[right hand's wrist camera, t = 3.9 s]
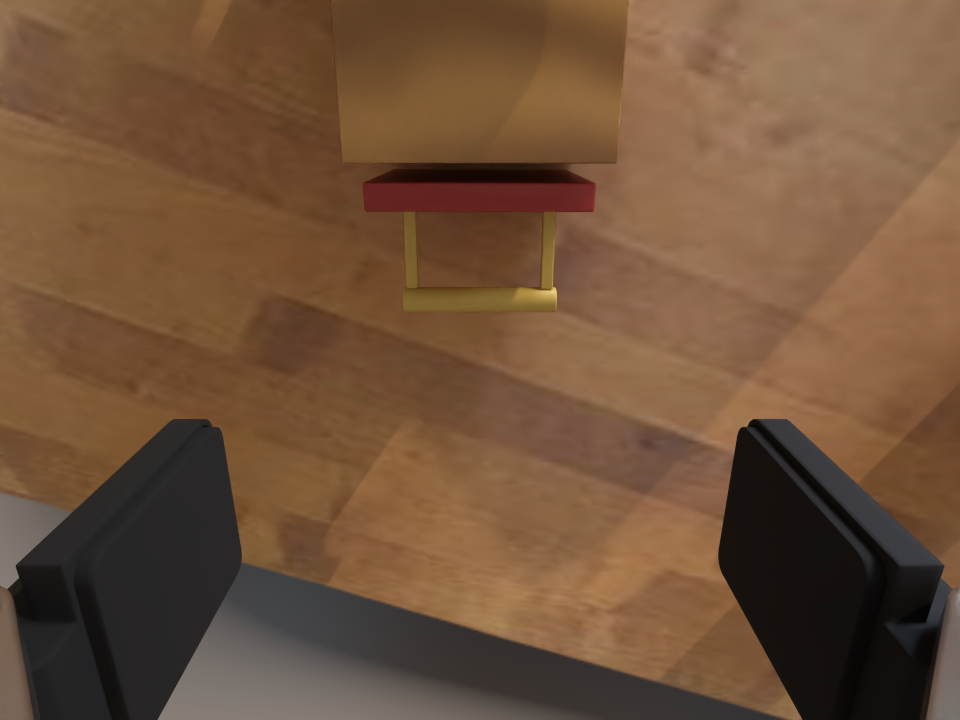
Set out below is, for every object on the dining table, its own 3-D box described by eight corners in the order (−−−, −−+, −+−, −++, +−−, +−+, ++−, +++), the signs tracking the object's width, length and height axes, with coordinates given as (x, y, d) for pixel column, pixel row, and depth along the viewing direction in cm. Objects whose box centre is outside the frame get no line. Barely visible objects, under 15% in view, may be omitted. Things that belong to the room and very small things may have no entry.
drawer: (560, 287, 37) (586, 336, 28) (398, 287, 37) (372, 336, 28) (585, -211, 28) (632, -365, 20) (375, -211, 28) (328, -365, 20)
